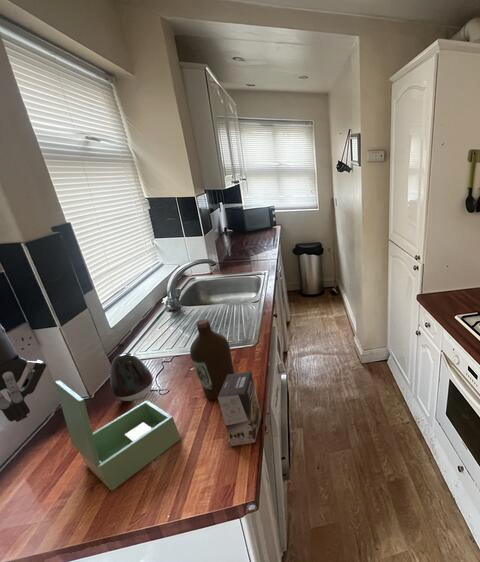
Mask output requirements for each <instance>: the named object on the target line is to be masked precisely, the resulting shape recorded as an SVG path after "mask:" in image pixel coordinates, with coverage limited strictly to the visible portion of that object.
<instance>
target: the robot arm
mask: <svg viewBox="0 0 480 562" xmlns="http://www.w3.org/2000/svg"><path fill="white" fill-rule="evenodd" d="M46 367H47V364H46V363H45V362H44V361H43V360H41V359H36V360H26V359H25V358H24V357H23V356H21V355H19V354H18V352H17V350H16V348H15V346H14V345H13V343H12V341H11V340H10V338H9V336H8V334H7V332H6V329H5V327H3V325H2V324H1V323H0V411H1V412H2V413H3V415H4V416H5V418H6V419H7V420H8V422H12V423H13V422H14V421H15V422H16V423H18V422H20V421H22V420H24V419H27V418H28V414H30V413H31V410H30V408H29V406H28V405H27V403H26V401H25V398H26V397H27V396H28V395H31V394H33V393H34V392H35V390H36V388H37V386H38V385H39V382H40V380H41V378H42V376H43V373H44V372H45V369H46ZM25 371H26V372H27V374H26V376H25V378H24V380H23V383H22V384H21V386H20V388H19V385H18V383H19V382H20V380H21V378H22V376H23V374H24V372H25ZM3 390H5V391H6V393H7V396H8V398H9V399H10V401H9V400H8V399H7V398H6V397H5V396H4V395H3V393H2V392H1V391H3Z"/></svg>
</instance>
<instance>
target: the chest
mask: <svg viewBox="0 0 480 562" xmlns="http://www.w3.org/2000/svg"><path fill="white" fill-rule="evenodd" d="M143 422H144V423H145V424H147V425H148V426H149V427H151V428H152V429H151V430H149V431H148V432H146V433H145V434H143V435H142V436H140V437H139V438H137V439H136V440H135V441H133V442H132V443H130V444H128V442H127V439H126V437H125V435H124V434H126V433H127V432H129V431H130V430H132V429H133V428H135V427H136V426H138V425H139V424H141V423H143ZM92 433H93V437H94V441H95V445H96V449H97V453H98V457H99V461H100V465H98V466H97V467H96V466H94V465H93V464H92V463H91V462H90V461H89V460H88V459H87V458H86V457H85V456H84V455H83V454H82V453H81V452H80V451H79V450H78V452H79V454H80V456H81V458H82V460H83V462H84V463H85V464H86V466H87V468H88V469H89V470H90V471H91V472H92V473H93V474H94V475H95V476H96V477H97V478H98V479H99V480H100V481H101V482H102V483H103V484H104V485H105V486H106V487H107V488H108V489H109V490H110V491H111V492H113V491H114V490H116V489H117V488H119V486H121V485H122V484H124V483H125V482H127V480H128V479H130V478H131V477H133V476H134V475H135V474H137V473H138V472H139V471H141V470H142V469H143V468H144V467H146V466H147V465H148V464H149V463H151V462H152V461H154V460H155V459H156V458H157V457H159V456H160V455H162V454H163V453H164V452H165V451H167V450H168V449H170V448H171V447H172V446H174V444H177V442H179V441H180V440H181V438H182V437H181V435H180V433H179V430H178V428H177V425H176V421H175V419H174V417H173V416H172V415H170V414H169V413H167V412H166V411H165V410H163V409H161V408H159V407H158V406H157V405H155V404H154V403H152V402H150V401H149V400H144V401H143V402H141V403H140V404H138V405H135V406H134V407H133V408H131V409H130V410H128V411H126V412H125V413H123V414H121V415H120V416H118V417H116V418H115V419H113V420H112V421H110V422H108V423H106V424H105V425H103V426H101V427H100V428H98V429H97V430H95V431H94V432H93V431H92Z"/></svg>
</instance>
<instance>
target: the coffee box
mask: <svg viewBox="0 0 480 562" xmlns="http://www.w3.org/2000/svg"><path fill="white" fill-rule="evenodd" d="M234 373H235V372H234ZM217 400H218V403H219V407H220V411H221V415H222V418H223V422H224V426H225V429H226V432H227V433H226V434H227V436H228V440H229V443H230V446H231V447H235V446H242V445H247V444H254V443H255V444H256V442H257V437H258V433H259V428H260V424H261V420H262V413H261V408H260V404H259V403H260V402H259V400H258V395H257V391H256V385H255V382H254V378H253V373H252V371H251V370H248V371H241V372H236V373H235V374H228V375H227V377H226V379H225V381H224V384H223V386H222V388H221V391H220V393H219V396H218V399H217Z"/></svg>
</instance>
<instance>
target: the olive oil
mask: <svg viewBox="0 0 480 562" xmlns="http://www.w3.org/2000/svg"><path fill="white" fill-rule="evenodd" d="M195 324H196V329H197V331H198V334H197V336H196V337H195V338H194V340H193V342H192V344H191V345H190V349H189V355H190V359H191V361H192V365H193V367H194V369H195V372H196V374H197V377H198V380H199V382H200V385H201V387H202V391H203V393H204V397H205V398H206V399H208V400H215V401H216V400H218V396H219V393H220V391H221V388H222V386H223V384H224V381H225V379H226V377H227V375H228V374H235V368H234V363H233V357H232V352H231V346H230V343H229V341H228V339H227V338H226V337H225V336H224V335H223V334H221V333H219V332H216V331H214V330H212V326H211V323H210V320H209V319H208V318H203V319H199V320H198V321H196V323H195Z"/></svg>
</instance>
